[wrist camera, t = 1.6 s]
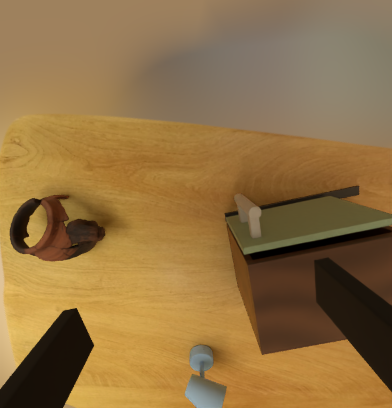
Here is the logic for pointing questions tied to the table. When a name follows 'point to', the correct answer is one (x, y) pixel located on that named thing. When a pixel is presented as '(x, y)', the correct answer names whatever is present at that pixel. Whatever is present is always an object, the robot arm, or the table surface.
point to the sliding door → (300, 222)
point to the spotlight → (203, 381)
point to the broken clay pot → (54, 231)
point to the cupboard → (306, 281)
